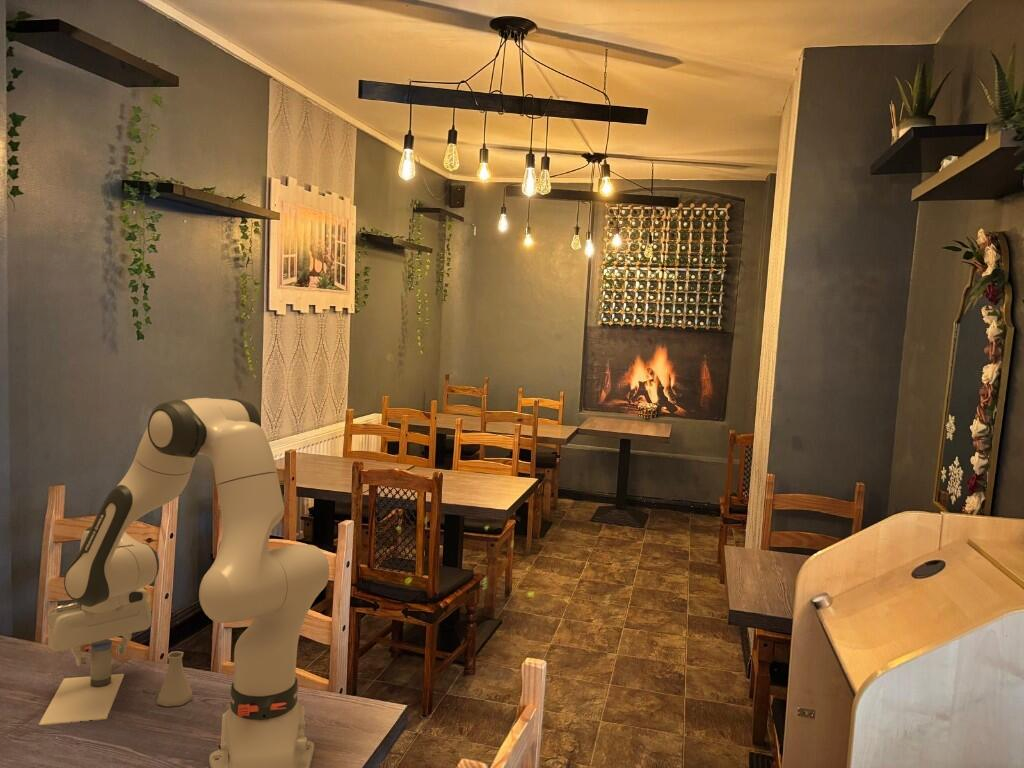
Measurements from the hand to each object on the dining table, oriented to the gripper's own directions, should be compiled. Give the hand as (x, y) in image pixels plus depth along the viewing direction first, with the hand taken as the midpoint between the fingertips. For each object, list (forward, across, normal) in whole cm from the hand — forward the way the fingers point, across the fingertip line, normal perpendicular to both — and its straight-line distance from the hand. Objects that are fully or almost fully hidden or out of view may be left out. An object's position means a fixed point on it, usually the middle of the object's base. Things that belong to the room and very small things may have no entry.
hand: (101, 658), depth 169 cm
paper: (+6, -5, -4) cm, 9 cm away
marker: (+6, 0, 0) cm, 6 cm away
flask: (+6, +9, -17) cm, 20 cm away
